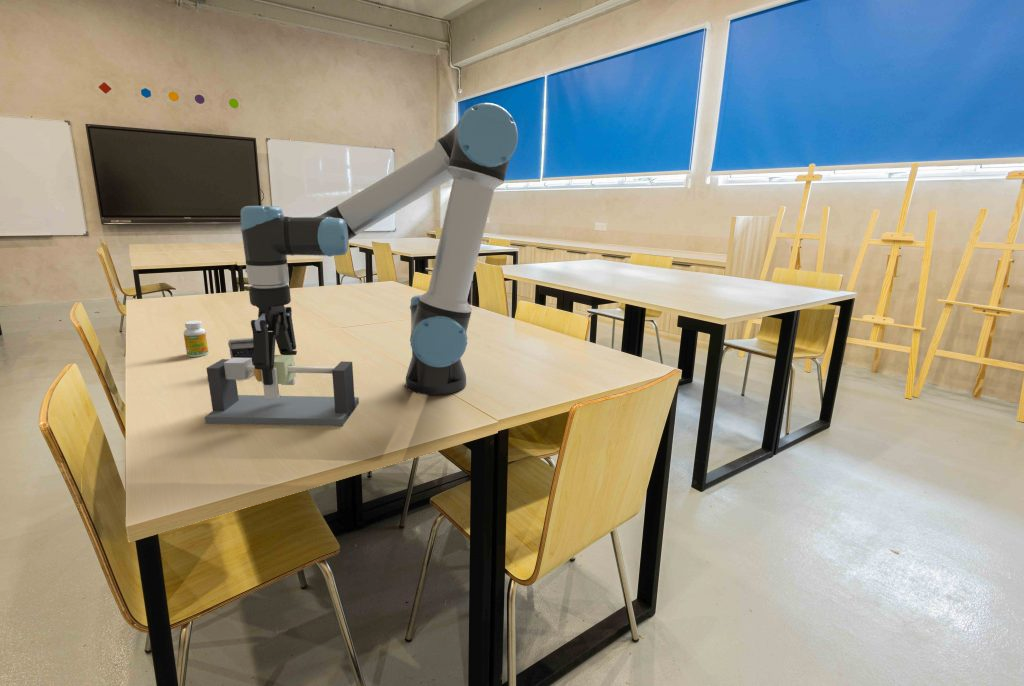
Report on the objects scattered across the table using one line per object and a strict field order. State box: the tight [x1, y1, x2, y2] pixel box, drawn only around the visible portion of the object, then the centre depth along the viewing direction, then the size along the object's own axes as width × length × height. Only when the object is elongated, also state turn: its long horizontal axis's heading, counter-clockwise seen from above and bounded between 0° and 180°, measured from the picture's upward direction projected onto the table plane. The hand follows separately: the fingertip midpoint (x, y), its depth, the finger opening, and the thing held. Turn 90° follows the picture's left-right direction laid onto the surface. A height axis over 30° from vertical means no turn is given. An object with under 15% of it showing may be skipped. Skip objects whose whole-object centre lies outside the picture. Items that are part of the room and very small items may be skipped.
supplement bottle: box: [183, 320, 209, 358], centre depth 147 cm, size 5×5×10 cm
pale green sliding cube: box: [261, 354, 296, 385], centre depth 108 cm, size 5×5×5 cm
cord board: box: [204, 357, 360, 427], centre depth 109 cm, size 28×12×13 cm, turn 91°
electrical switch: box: [227, 337, 254, 365], centre depth 134 cm, size 9×5×9 cm, turn 113°
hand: (280, 390), depth 109 cm, fingers open, 7 cm apart
